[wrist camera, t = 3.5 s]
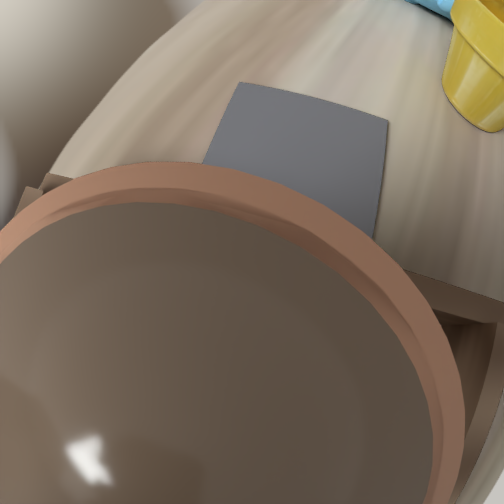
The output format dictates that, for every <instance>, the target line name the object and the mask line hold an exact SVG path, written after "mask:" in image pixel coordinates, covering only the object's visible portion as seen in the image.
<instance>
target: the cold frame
mask: <svg viewBox="0 0 504 504" xmlns="http://www.w3.org/2000/svg"><path fill="white" fill-rule="evenodd" d="M71 180H73V179H72V178H68V177H64V176H59V175H55V174H50V173H47V174H46V176H45V178H44V180H43V182H42V185H41V187H40V189H35V188H31V187H28V186H26V188H25V191H24V193H23V196H22V198H21V200H20V202H19V205H18V207H17V210H16V212H15V215H14V217H15V216H16V215H17V214H18V213H19V212H21V211H22V210H23V209H24V208H26V207H27V206H29V205H30V204H31V203H33V202H34V201H35V200H37V199H38V198H40V197H41V196H43V195H44V194H46V193H47V192H49V191H51V190H53V189H55V188H57V187H59V186H61V185H63V184H65V183H67V182H69V181H71ZM403 271H404V272H405V273H406V274H407V276H408V277H409V278H410V279H411V281H412V282H413V283H414V284H415V286H416V287H417V288H418V290H419V291H420V292H421V294H422V295H423V296H424V298H425V299H426V300H427V302H428V304H429V305H430V307H431V309H432V311H433V312H434V314H435V316H436V318H437V320H438V322H439V324H440V325H441V327H442V329H443V331H444V333H445V335H446V337H447V339H448V342H449V345H450V348H451V350H452V353H453V356H454V359H455V362H456V365H457V369H458V372H459V375H460V380H461V386H462V393H463V400H464V408H465V435H464V449H463V454H462V459H461V464H460V469H459V473H458V477H457V480H456V483H455V486H454V488H453V491H452V494H451V496H450V499H449V501H448V504H455V502H456V500H457V499H458V497H459V495H460V493H461V491H462V490H463V488H464V486H465V484H466V482H467V480H468V478H469V476H470V474H471V472H472V470H473V468H474V466H475V464H476V461H477V459H478V457H479V455H480V452H481V450H482V448H483V445H484V443H485V441H486V438H487V435H488V433H489V430H490V428H491V425H492V422H493V419H494V417H495V414H496V411H497V408H498V404H499V401H500V398H501V395H502V391H503V388H504V303H503V302H500V301H497V300H495V299H492V298H489V297H486V296H483V295H480V294H477V293H474V292H471V291H468V290H465V289H462V288H459V287H456V286H453V285H450V284H447V283H444V282H441V281H438V280H435V279H432V278H429V277H425V276H422V275H419V274H416V273H413V272H410V271H407V270H403Z"/></svg>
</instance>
